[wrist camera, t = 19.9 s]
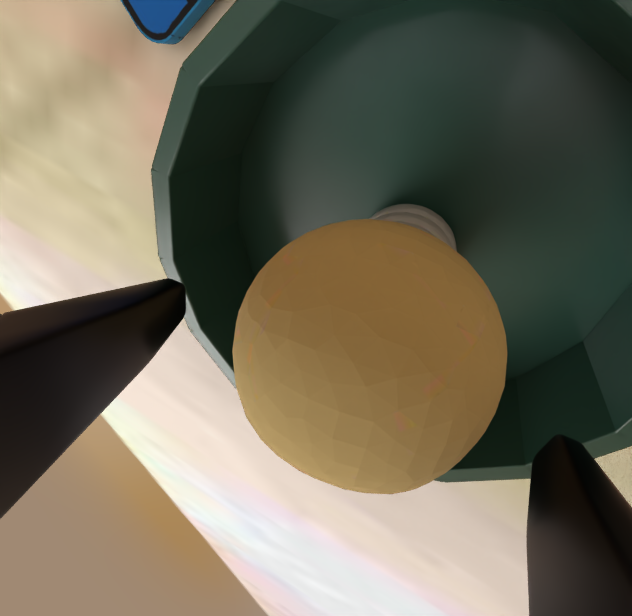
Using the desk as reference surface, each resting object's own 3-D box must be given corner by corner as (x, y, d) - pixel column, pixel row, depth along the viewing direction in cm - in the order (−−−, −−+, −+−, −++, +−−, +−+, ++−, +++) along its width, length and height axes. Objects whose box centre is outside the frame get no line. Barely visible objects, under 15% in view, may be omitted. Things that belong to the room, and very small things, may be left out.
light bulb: (529, 183, 12) (616, 398, 4) (460, 332, 16) (438, 594, 8) (344, 143, 13) (153, 249, 6) (321, 289, 17) (187, 475, 9)
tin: (864, 34, 9) (1182, 8, 5) (512, 438, 18) (521, 538, 14) (243, -77, 12) (121, -150, 8) (225, 320, 21) (168, 377, 17)
